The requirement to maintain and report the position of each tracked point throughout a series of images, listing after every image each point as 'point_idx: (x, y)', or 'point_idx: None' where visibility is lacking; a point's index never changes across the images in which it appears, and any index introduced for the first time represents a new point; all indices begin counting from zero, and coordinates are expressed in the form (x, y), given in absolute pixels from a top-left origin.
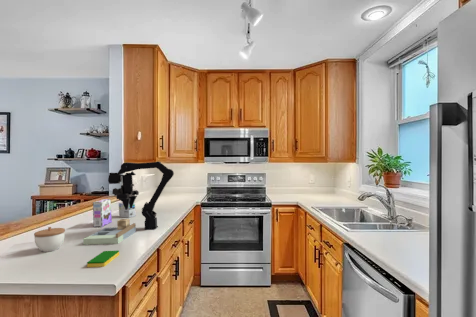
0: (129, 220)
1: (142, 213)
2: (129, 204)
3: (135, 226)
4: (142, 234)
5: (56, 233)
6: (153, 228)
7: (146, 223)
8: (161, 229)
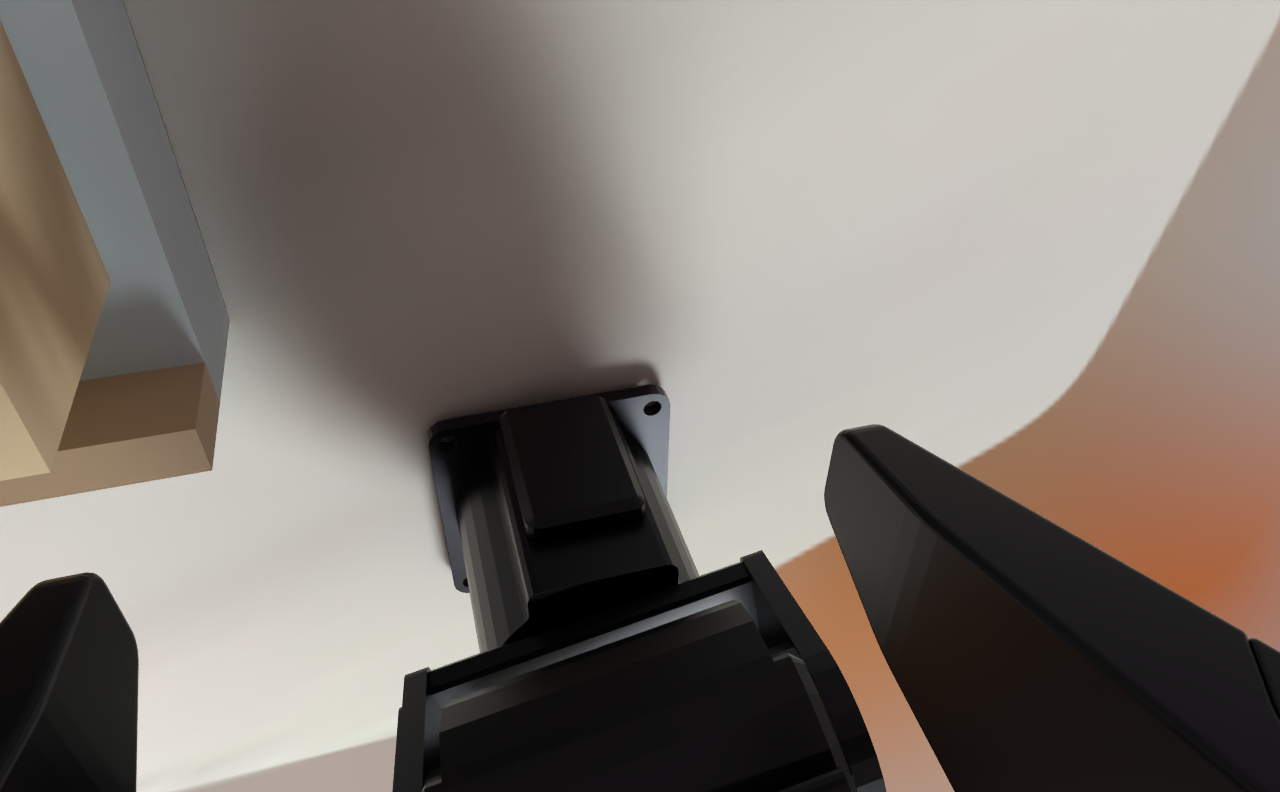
0: (59, 425)
1: (444, 768)
2: (971, 569)
3: (213, 406)
4: (23, 568)
5: None
6: (457, 574)
7: (506, 527)
8: (458, 660)
